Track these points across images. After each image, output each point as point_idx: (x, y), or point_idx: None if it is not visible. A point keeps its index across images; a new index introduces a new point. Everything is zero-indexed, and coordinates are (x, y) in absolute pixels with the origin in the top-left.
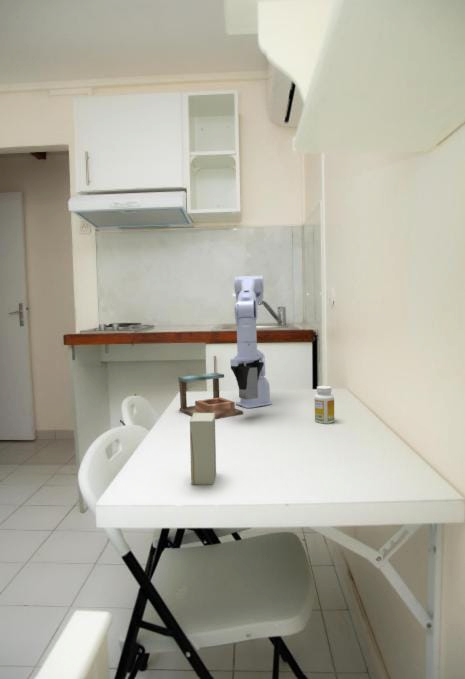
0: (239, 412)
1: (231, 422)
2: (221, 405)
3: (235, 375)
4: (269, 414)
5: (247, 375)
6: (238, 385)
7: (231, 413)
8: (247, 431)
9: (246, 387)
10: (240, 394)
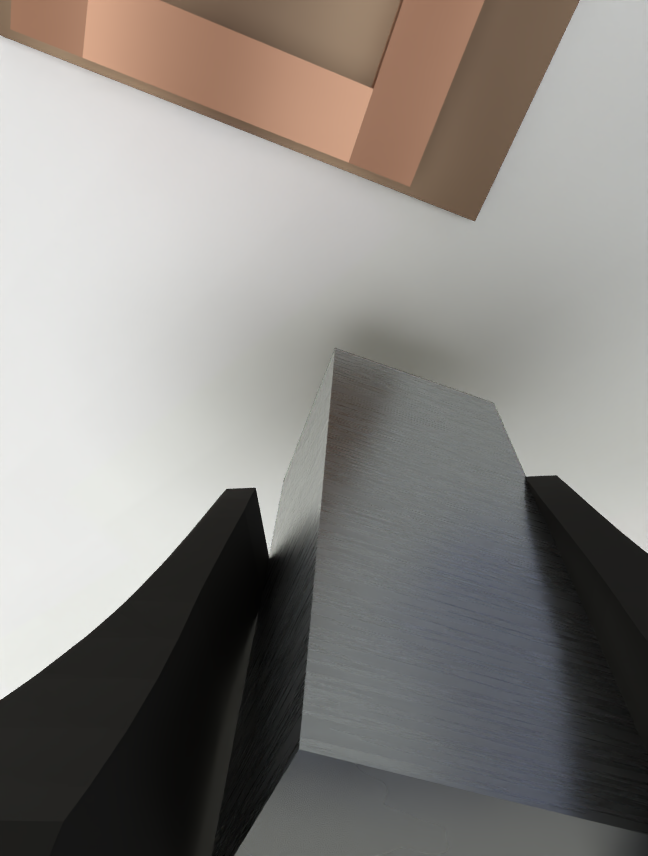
0: (434, 204)
1: (178, 314)
2: (220, 107)
3: (85, 651)
4: (560, 416)
5: (220, 783)
6: (201, 523)
7: (343, 167)
8: (102, 522)
9: (261, 589)
10: (320, 398)
